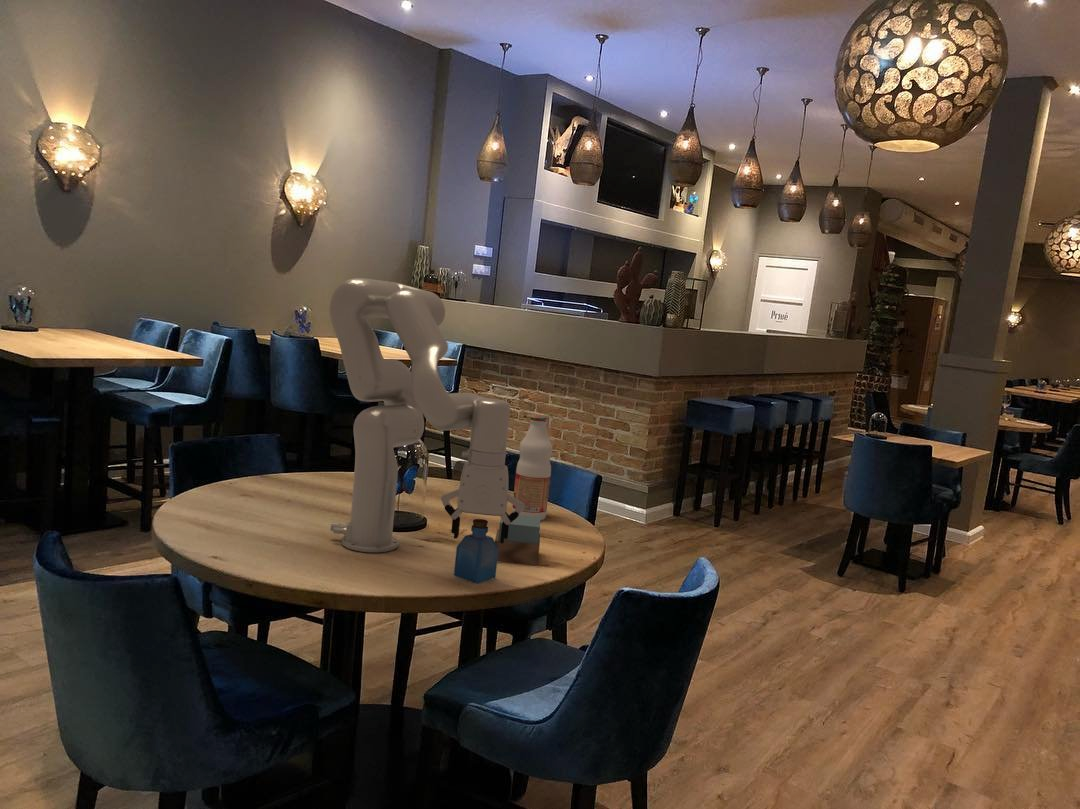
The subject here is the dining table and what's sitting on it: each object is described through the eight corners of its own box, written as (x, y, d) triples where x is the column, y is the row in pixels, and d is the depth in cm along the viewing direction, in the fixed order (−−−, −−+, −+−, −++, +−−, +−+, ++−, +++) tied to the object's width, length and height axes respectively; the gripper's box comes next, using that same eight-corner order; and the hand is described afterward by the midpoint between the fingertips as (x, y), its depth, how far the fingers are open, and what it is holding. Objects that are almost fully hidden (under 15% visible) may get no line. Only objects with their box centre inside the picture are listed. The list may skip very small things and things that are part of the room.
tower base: (492, 562, 191) (494, 540, 190) (495, 549, 201) (497, 528, 200) (537, 566, 191) (539, 545, 190) (537, 554, 201) (540, 533, 200)
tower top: (498, 540, 191) (499, 522, 190) (500, 529, 200) (502, 512, 199) (538, 544, 191) (540, 527, 190) (538, 533, 200) (540, 517, 199)
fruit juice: (525, 523, 227) (537, 419, 223) (504, 514, 234) (515, 413, 231) (552, 520, 233) (564, 419, 229) (531, 511, 240) (541, 413, 237)
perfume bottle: (473, 570, 183) (478, 515, 182) (495, 577, 179) (501, 522, 178) (453, 575, 178) (459, 519, 176) (476, 583, 174) (482, 526, 173)
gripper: (442, 457, 172) (435, 539, 174) (528, 466, 172) (519, 548, 174) (447, 451, 179) (440, 530, 181) (529, 459, 179) (521, 538, 181)
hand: (479, 539), depth 178 cm, fingers open, 9 cm apart
